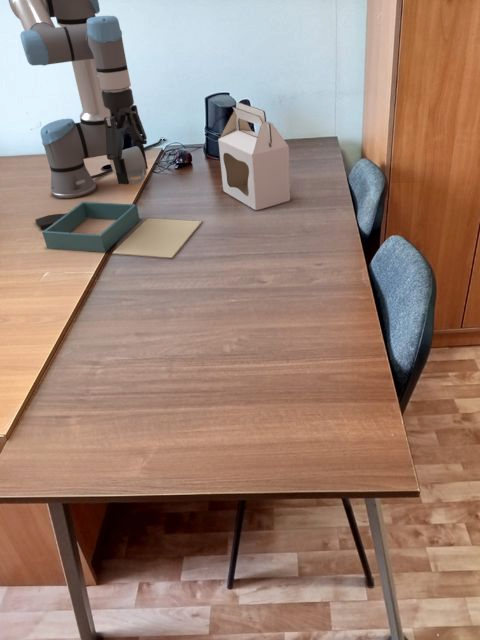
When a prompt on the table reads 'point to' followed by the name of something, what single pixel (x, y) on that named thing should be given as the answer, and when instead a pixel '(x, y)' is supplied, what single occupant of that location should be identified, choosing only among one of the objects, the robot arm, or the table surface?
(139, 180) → the ceramic mug
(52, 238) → the teal rectangular frame
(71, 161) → the robot arm
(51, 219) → the dark sector wedge
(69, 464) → the table surface
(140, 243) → the mat
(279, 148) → the gable box
